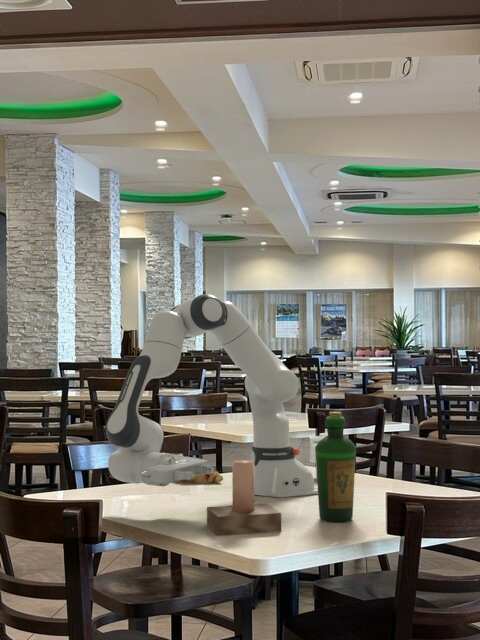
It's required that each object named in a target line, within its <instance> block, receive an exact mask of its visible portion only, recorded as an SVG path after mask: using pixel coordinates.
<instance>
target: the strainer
mask: <svg viewBox="0 0 480 640" xmlns="http://www.w3.org/2000/svg"><path fill="white" fill-rule="evenodd" d="M318 434H319V435H315V436H309V441H310V442H309V443H310V444H309V445H310V446H309V447H310V448H309V449H310V450H309V452H310V453H309V454H310V457H309V462H310V463H313V464H316V452H315V447H316V445H317V444H318V442H319V441H320V440H322V439H323V438H324V437H326V436H327V433H326V432H322V433H318ZM315 479H317V468H316V467H315Z"/></svg>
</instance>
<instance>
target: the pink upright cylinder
mask: <svg viewBox="0 0 480 640" xmlns="http://www.w3.org/2000/svg"><path fill="white" fill-rule="evenodd" d="M231 473H232V481H231V482H232V491H231V492H232V493H231V494H232V506H233V511H235V512H252V511H254V504H255V494H254V461H252V460H247V459H244V460H242V459H241V460H233V461H232V472H231Z"/></svg>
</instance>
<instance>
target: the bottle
mask: <svg viewBox="0 0 480 640" xmlns="http://www.w3.org/2000/svg"><path fill="white" fill-rule="evenodd" d="M328 414H329V416H325V417H326V418H325V423H324V424H325V425H324V426H325V427H326V428H327V429H326V430H327V435H326V437H324V438H323V439H322V440H320V441H319V442H317V443H318V444H317V445H316V447H315V452H316V463H315V469H316V468H317V478H316V483H317V486H318V494H317V495H318V512H319V514H318V515H319V518H320V519H321V520H323V521H325V522H329V523H345V522H349V521H351V520H352V519H353V518H354V517H353V515H354V496H355V495H354V492H355V474H356V473H355V471H356V453H357V446H356V445H355V444H354V442H353V441H352V440H351V439H349V438H348V437H346V436H344V429H345V427H347V426H346V420H345V417H344V416H342V412H341V411H329V413H328Z"/></svg>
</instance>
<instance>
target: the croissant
mask: <svg viewBox="0 0 480 640" xmlns="http://www.w3.org/2000/svg"><path fill="white" fill-rule="evenodd" d="M222 481H224V477H223V476H222V475H221V474H220V473H219V471H216V470H214V474H203V475H199V476H195V477H194V478H193V479H191V480H180V481H177V482H180V483H183V484H211V483H213V484H216V483H221V482H222Z"/></svg>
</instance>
